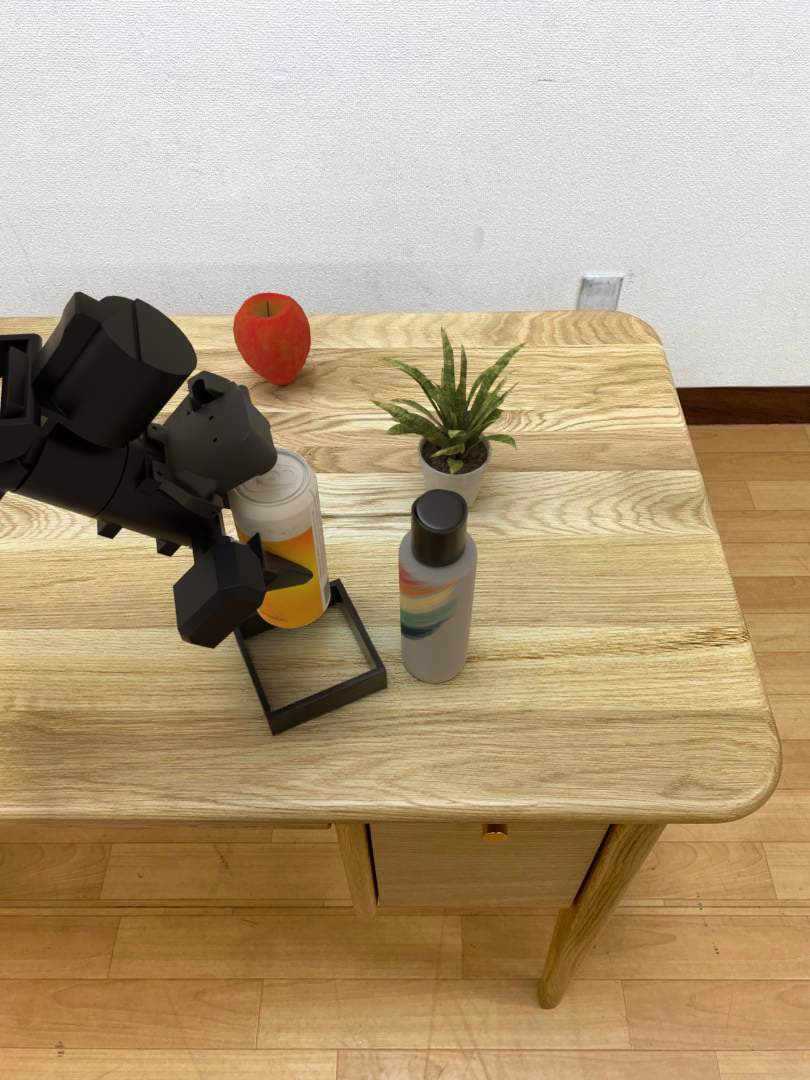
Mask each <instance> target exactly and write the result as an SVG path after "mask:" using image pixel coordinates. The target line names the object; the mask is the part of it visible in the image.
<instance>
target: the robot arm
mask: <svg viewBox="0 0 810 1080" xmlns="http://www.w3.org/2000/svg"><path fill="white" fill-rule="evenodd" d="M197 366H198V356H197V352H196V350H195V348H194V346H193V344H192V343H191V341H190V339H189V338H188V337H187V335H186V334H185V333H184V332H183V331H182V330H181V328H180V327H179V326H178V325H177V324H176V323H175V322H174V321H173V320H172V319H171V318H170V317H168V316H167V315H165V314H164V313H163V312H162V311H161V310H160V309H157V308H156V307H154V306H153V305H151V304H150V303H148V302H146V301H144V300H143V299H140V298H139V297H137V298H134V299H132V298H129V297H125V296H120V295H107V296H105V297H103V298H100V300H98V299H96V298H94V297H93V296H90V295H89V294H87V293H85V292H82V291H75V292H74V293H73V294H72V296H71V297H70V299H69V300H68V302H67V303H66V305H65V306H64V307H63V309H62V314H61V317H60V320H59V322H58V324H57V325H56V327H55V328H54V330H53V331H52V332H51V334H50V336H49V337H48V338H47V340H46V341H45V342H44V344H43V337H42V336H41V335H39V334H38V333H35V332H34V333H31V332H30V333H9V334H7V333H6V334H0V379H1V389H0V502H1V501H2V499H3V498H4V497H5V496H6V494H7V493H8V492H9V493H11V494H14V495H17V496H21V497H23V498H27V499H31V500H34V501H37V502H40V503H43V504H46V505H48V506H49V505H50V506H53V507H55V508H59V509H62V510H65V511H67V512H71V513H75V514H77V515H80V516H83V517H87V518H89V519H93V520H96V534H97V536H99V537H103V538H106V539H109V540H113V539H115V538H116V536H117V535H118V534H119V533H120V532H121V530H123V529H124V530H128V531H130V532H133V533H136V534H140V535H143V536H147V537H149V538H153V539H155V545H156V546H155V547H156V553H157V554H159V555H162V556H165V557H168V558H172V557H173V556H174V554H176V552H177V551H178V550H180V548H181V547H182V546H183V547H186V548H188V549H189V550H192V557H193V564H192V566H190V568H189V569H187V571H185V573H183V574H182V576H180V578H179V579H178V580H177V581H175V583H174V584H173V585H172V594H173V602H174V610H175V617H176V618H175V619H176V627H177V628H176V629H177V632H178V634H179V636H180V638H181V640H182V642H184V643H188V644H190V645H194V646H198V647H202V648H206V649H207V648H208V649H212V650H214V649H216V648H217V647H218V646H219V645H220V644H222V642H223V641H225V640H226V639H227V638H228V637H229V636H230V635H231V634H232V633H233V631H234V630H235V629H236V628H237V627H239V626H240V625H241V624H242V623H243V622H244V621H245V620H246V619H247V618H248V617H249V616H251V615H252V614H253V613H254V612H255V611H256V610H257V609H258V608H259V607H260V606H261V605H262V604H263V601H264V598H265V595H266V592H269V591H274V590H278V589H283V588H288V587H293V586H298V585H303V584H306V583H307V582H308V581H310V580H311V579H312V578H313V572H312V571H310V570H309V569H307V568H305V567H303V566H301V565H299V564H297V563H295V562H292V561H290V560H287V559H285V558H283V557H280V556H278V555H275V554H273V553H271V552H268V551H266V550H265V549H264V548H263V544H262V540H261V535H260V533H259V532H257V533H256V534H255V535H254V536H253V537H252V538H251V539H250V540H249V541H248V542H247V543H243V542H240V541H239V540H238V539H235V538H234V537H233V536H231V535H229V534H227V531H226V526H225V520H224V515H223V510H224V509H225V510H230V511H231V508H230V504H229V500H228V496H227V492H228V491H230V490H232V489H234V488H236V487H237V486H239V485H241V484H243V483H245V482H246V481H248V480H250V479H252V478H254V477H255V476H262V475H264V474H266V473H267V472H269V471H270V470H271V469H272V468H273V467H274V466H275V464H276V462H277V458H278V455H277V450H276V448H275V447H276V446H275V443H274V439H273V436H272V435H273V434H272V432H271V429H272V426H271V423H270V421H269V420H268V419H267V417H265V416H264V415H263V413H262V412H261V411H260V410H259V409H258V408H257V407H256V405H254V404H253V402H252V399H251V394H250V389H249V387H248V386H246V385H245V384H237V383H236V381H234V380H233V381H231V380H230V379H229V378H227V377H224V376H222V375H219V374H216V373H214V372H211V371H208V370H205V369H203V370H202V371H200V372H198V373H196V374H195V375H193V376H191V375H192V373H193V372H194V371H195V370H196V368H197ZM190 376H191V377H190ZM189 377H190V378H189ZM185 382H186V384H187V389H188V393H187V395H186V396H185V397H184V398H183V399H182V401H181V402H180V403H179V404H178V405H177V407H175V409H174V410H173V411H172V413H170V415H169V416H168V417H167V419H166V420H165V421H164V422H163V423H162V424H161V427H160V426H158V425H155V424H153V423H154V422H153V421H154V420H155V419H156V418H157V416H158V415H159V414H160V412H161V411H162V410H163V409H164V408H165V407H166V406H167V404H168V403H169V402H170V400H171V399H172V398H173V397H174V396H175V394H176V393H177V392H178V391H179V389H180V388H181V387H182V386H183V384H185ZM151 422H152V423H151Z"/></svg>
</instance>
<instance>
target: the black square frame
mask: <svg viewBox="0 0 810 1080" xmlns="http://www.w3.org/2000/svg"><path fill="white" fill-rule="evenodd" d="M329 585H330V601H329V604H328V607H327V608H326V609H328V608H332V607H333V606H336V605H339V608H340V610H341V612H342V614H343V615H344V618H345V619H346V621H347V624H348V625H349V627H350V629H351V632H352V634H353V636H354V638H355V640H356V642H357V645H358V646H359V648H360V650H361V652H362V654H363V656H364V658H365V660H366V662H367V664H368V666H369V669H370V670H368V671H366V672H363V673H361V674H359V675H356V676H354V677H351V678H349V679H347V680H344V681H342V682H339V683H337V684H336V685H332V686H330V687H327V688H325V689H323V690H320V691H318V692H316V693H313V694H311V695H308V696H306V697H303V698H302V699H299V700H296V701H294V702H292V703H290V704H287V705H284V706H281V707H280V708H277V709H275V710H272V707H271V705H270V702H269V699H268V698H267V695H266V692H265V690H264V687H263V685H262V681H261V679H260V677H259V674H258V671H257V670H256V666H255V663H254V662H253V661H254V660H253V658H252V656H251V654H250V651H249V648H248V646H247V644H246V640H249V639H251V638H253V637H256V636H258V635H261V634H263V633H266V632H268V631H271V630H275V629H277V628H279V627H278V626H275V625H272V624H270V623H268V622H267V621H266V620H264V619H263V618H262V617H261V616H260V614H259V613H258V611H257V610H256V611H255V612H254V613H253V614H252V615H251V616H249V617H248V618H247V619H246V620H245V621H244V622H243V623H242V624H241V625H240V626H239V627H237V628H236V629H235V630H234V631H233V632H232V633H233V636H234V639H235V642H236V644H237V646H238V649H239V652H240V654H241V657H242V659H243V662H244V665H245V667H246V670H247V672H248V675H249V679H250V681H251V683H252V686H253V689H254V691H255V694H256V696H257V699H258V702H259V704H260V707H261V710H262V712H263V714H264V717H265V720H266V722H267V725H268V728H269V731H270V733H271V735H272V737H275V736H277V735H280V734H282V733H284V732H286V731H289V730H290V729H294V728H295V727H298V726H300V725H302V724H305V723H307V722H310V721H312V720H315V719H317V718H319V717H321V716H324V715H326V714H328V713H331V712H333V711H336V710H338V709H341V708H343V707H345V706H347V705H350V704H352V703H354V702H356V701H357V702H358V701H359V700H362V699H364V698H366V697H368V696H369V697H370V696H371V695H374V694H376V693H378V692H380V691H382V690H383V691H384V690H385V689H388V674H387V673H388V672H387V668H386V667H385V665H384V663H383V661H382V659H381V657H380V654H379V653H378V651H377V649H376V646H375V644H374V643H373V641H372V639H371V636H370V635H369V633H368V631H367V629H366V627H365V625H364V623H363V621H362V619H361V617H360V616H359V613H358V611H357V609H356V607H355V605H354V604H353V601H352V600H351V597H350V596H349V593H348V592H347V590H346V588H345V585H344V584H343V582H342V580H341V578H340V577H339V578H336V579H333V580H331V581H330V580H329Z"/></svg>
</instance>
